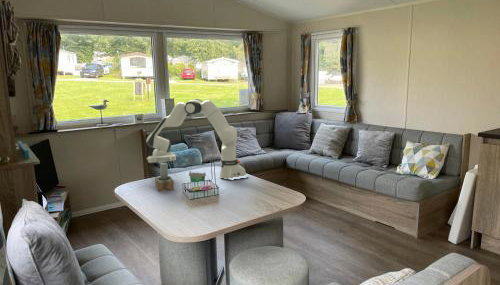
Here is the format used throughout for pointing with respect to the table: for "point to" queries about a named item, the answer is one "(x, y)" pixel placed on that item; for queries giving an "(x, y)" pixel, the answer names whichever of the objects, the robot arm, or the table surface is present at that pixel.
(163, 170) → the slate grey canister
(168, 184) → the walnut holder
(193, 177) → the food container
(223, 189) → the table surface
